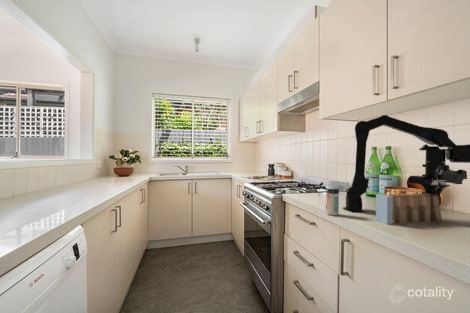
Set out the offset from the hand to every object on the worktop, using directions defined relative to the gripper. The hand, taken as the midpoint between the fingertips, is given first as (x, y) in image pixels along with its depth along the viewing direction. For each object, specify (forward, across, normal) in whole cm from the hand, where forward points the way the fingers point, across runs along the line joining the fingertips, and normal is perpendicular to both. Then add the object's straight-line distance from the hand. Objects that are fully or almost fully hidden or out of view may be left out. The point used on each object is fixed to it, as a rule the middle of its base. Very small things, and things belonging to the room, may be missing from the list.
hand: (434, 201), depth 84 cm
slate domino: (+7, -23, 0) cm, 24 cm away
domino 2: (+7, -12, 0) cm, 14 cm away
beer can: (+7, -36, +12) cm, 38 cm away
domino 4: (+7, -1, 0) cm, 7 cm away
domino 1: (+7, -17, 0) cm, 19 cm away
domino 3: (+7, -6, 0) cm, 9 cm away
